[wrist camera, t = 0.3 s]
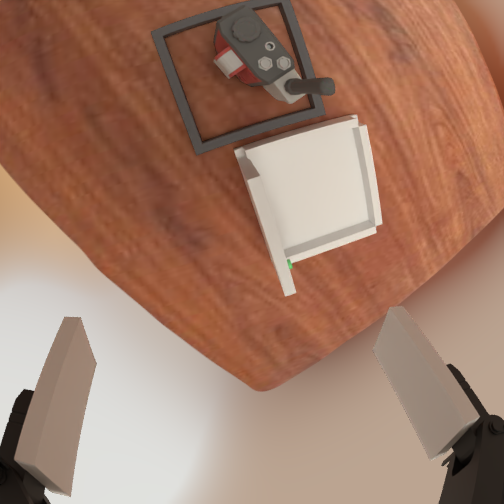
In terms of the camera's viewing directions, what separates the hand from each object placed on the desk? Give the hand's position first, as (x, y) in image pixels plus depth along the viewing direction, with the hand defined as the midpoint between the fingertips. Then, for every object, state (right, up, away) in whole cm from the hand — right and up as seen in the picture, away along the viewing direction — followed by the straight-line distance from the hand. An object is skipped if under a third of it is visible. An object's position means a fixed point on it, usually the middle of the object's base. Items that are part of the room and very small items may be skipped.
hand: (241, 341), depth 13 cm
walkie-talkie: (-1, +23, +18) cm, 30 cm away
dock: (+8, +12, +26) cm, 29 cm away
